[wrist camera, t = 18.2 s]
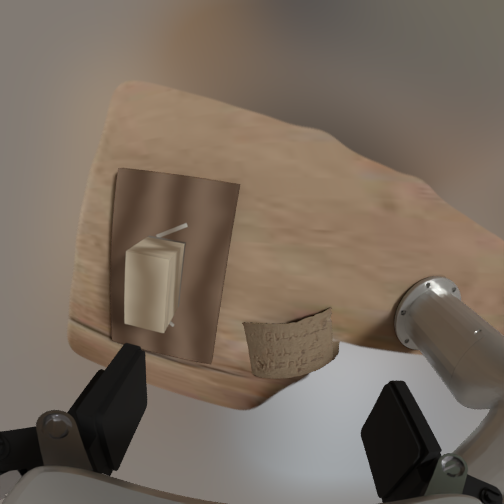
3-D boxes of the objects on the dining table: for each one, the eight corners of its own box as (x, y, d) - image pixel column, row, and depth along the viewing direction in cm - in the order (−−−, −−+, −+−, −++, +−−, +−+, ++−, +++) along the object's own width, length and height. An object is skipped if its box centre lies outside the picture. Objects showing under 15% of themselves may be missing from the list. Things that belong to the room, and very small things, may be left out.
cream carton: (185, 242, 38) (169, 259, 31) (179, 305, 40) (163, 333, 33) (149, 235, 38) (125, 251, 31) (145, 298, 40) (124, 323, 33)
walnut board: (240, 184, 37) (239, 185, 36) (212, 358, 44) (211, 364, 43) (122, 168, 37) (118, 168, 36) (115, 335, 44) (112, 340, 43)
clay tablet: (334, 302, 42) (338, 311, 39) (338, 358, 45) (342, 368, 42) (234, 320, 43) (233, 329, 41) (248, 374, 46) (248, 384, 43)
